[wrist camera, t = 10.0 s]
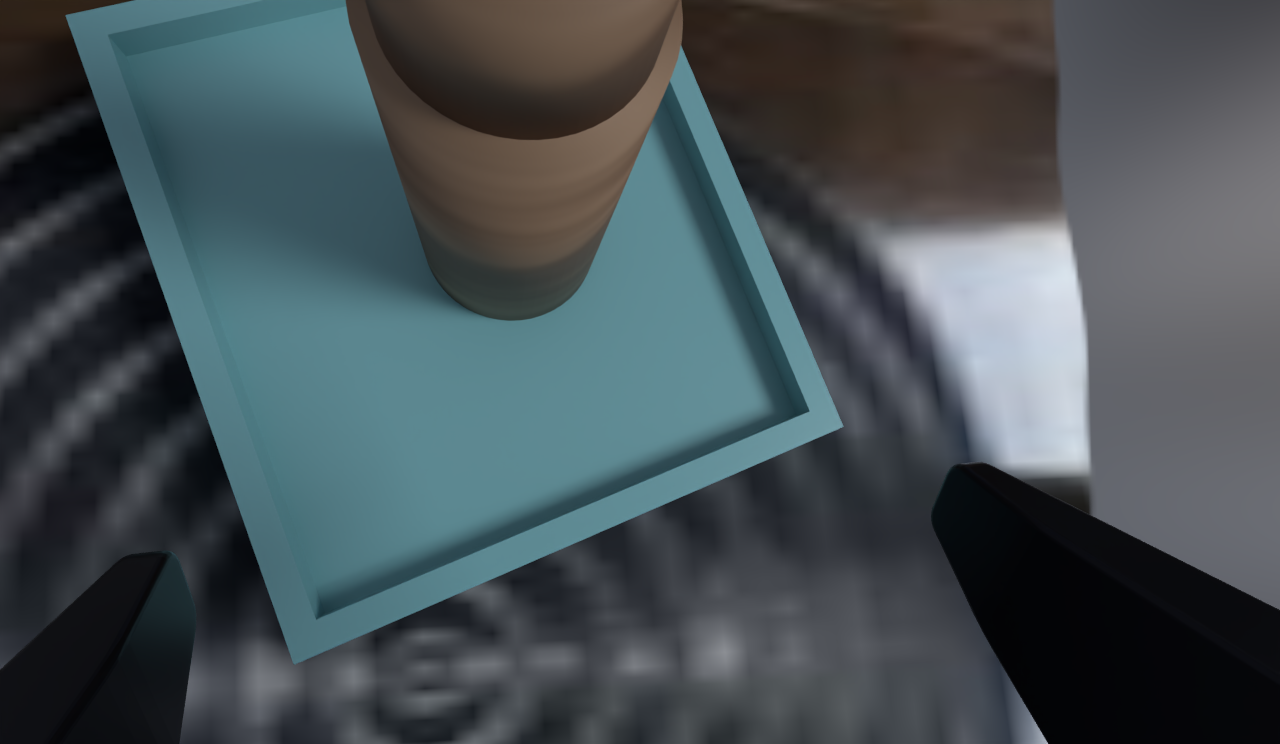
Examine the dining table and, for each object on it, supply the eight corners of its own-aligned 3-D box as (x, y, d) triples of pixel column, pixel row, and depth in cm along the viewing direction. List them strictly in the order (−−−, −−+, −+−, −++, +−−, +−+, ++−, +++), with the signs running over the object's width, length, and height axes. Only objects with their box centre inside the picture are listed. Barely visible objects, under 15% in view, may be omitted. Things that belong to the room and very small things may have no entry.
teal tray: (815, 432, 24) (843, 426, 22) (313, 648, 20) (293, 664, 18) (608, -56, 25) (617, -102, 23) (104, 58, 21) (65, 15, 19)
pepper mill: (581, 333, 22) (767, 3, 7) (408, 305, 21) (177, -143, 6) (604, 175, 22) (812, -431, 8) (438, 143, 22) (303, -610, 7)
